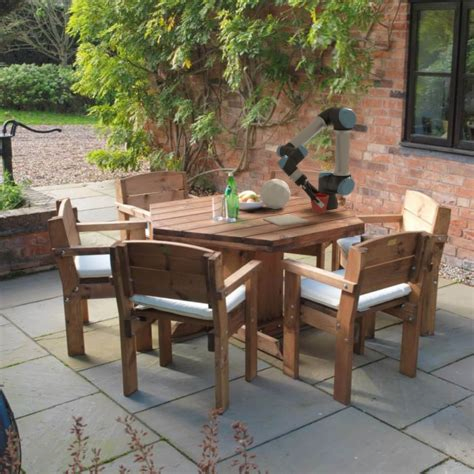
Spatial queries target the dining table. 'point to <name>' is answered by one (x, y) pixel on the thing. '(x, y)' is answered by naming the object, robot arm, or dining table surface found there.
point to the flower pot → (323, 199)
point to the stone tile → (285, 220)
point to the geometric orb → (275, 193)
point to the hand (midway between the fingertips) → (324, 204)
